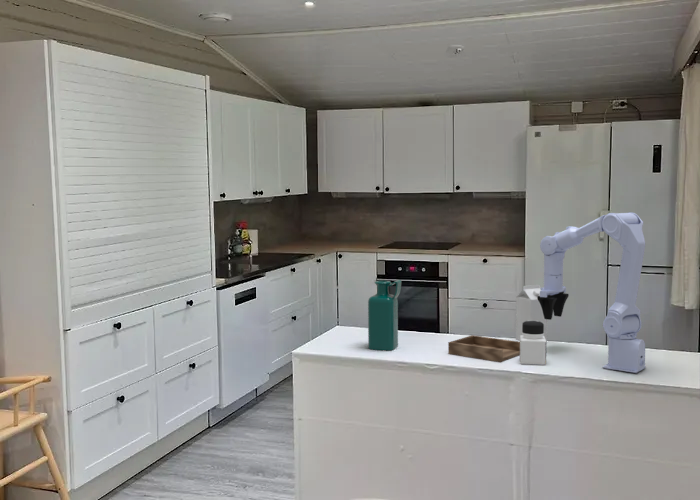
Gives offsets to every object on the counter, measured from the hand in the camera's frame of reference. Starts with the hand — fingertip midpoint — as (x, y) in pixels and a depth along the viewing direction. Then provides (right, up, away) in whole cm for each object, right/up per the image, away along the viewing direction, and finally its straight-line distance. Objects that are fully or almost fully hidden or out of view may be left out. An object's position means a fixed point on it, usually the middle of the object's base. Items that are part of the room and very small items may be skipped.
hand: (552, 317), depth 220 cm
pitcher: (-52, -11, +7) cm, 54 cm away
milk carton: (-3, -10, +13) cm, 17 cm away
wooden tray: (-22, -11, -3) cm, 24 cm away
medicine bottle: (-10, -12, -14) cm, 21 cm away
